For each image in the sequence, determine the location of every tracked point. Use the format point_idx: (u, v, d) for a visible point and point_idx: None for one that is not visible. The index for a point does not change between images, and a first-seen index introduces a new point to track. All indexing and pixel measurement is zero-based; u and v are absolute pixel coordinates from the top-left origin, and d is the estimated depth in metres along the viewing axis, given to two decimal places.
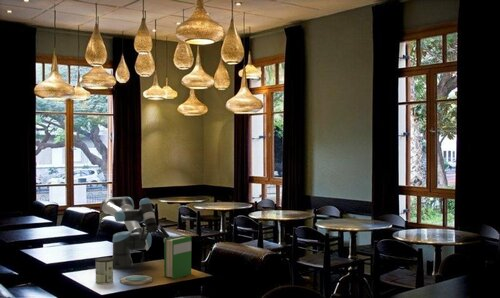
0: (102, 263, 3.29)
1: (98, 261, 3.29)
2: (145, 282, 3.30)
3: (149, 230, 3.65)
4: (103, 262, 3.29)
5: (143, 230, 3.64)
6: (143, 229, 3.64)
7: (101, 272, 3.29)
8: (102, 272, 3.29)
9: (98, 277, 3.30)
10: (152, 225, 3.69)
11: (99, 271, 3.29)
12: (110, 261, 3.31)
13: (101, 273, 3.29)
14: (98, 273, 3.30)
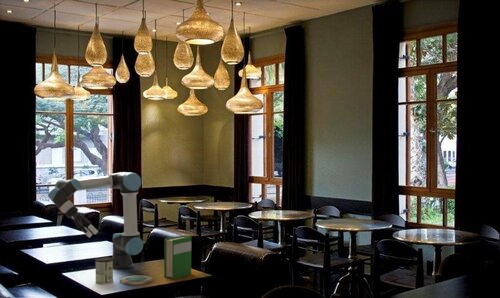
0: (102, 263, 3.29)
1: (98, 261, 3.29)
2: (145, 282, 3.30)
3: None
4: (103, 262, 3.29)
5: None
6: None
7: (101, 272, 3.29)
8: (102, 272, 3.29)
9: (98, 277, 3.30)
10: None
11: (99, 271, 3.29)
12: (110, 261, 3.31)
13: (101, 273, 3.29)
14: (98, 273, 3.30)
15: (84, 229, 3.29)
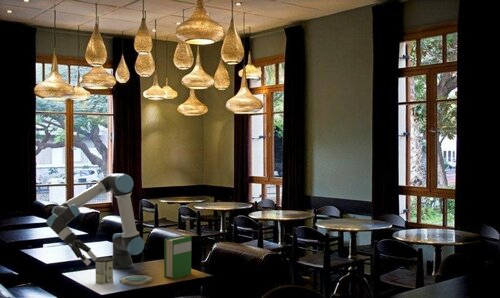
0: (102, 263, 3.29)
1: (98, 261, 3.29)
2: (145, 282, 3.30)
3: None
4: (103, 262, 3.29)
5: None
6: None
7: (101, 272, 3.29)
8: (102, 272, 3.29)
9: (98, 277, 3.30)
10: None
11: (99, 271, 3.29)
12: (110, 261, 3.31)
13: (101, 273, 3.29)
14: (98, 273, 3.30)
15: (82, 257, 3.25)
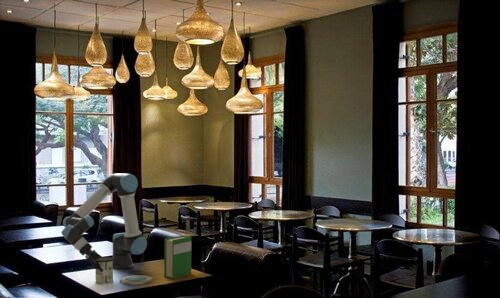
0: (102, 263, 3.29)
1: (98, 261, 3.29)
2: (145, 282, 3.30)
3: None
4: (103, 262, 3.29)
5: None
6: None
7: None
8: None
9: (98, 277, 3.30)
10: None
11: (99, 271, 3.29)
12: (110, 261, 3.31)
13: (101, 273, 3.29)
14: (98, 273, 3.30)
15: (100, 268, 3.27)
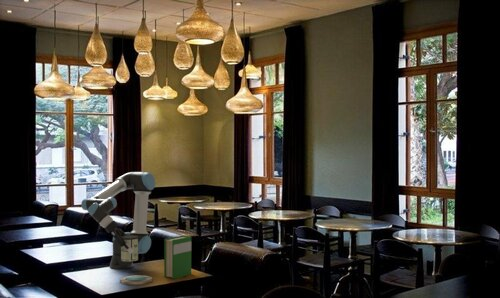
0: (127, 240, 3.30)
1: (124, 238, 3.31)
2: (145, 282, 3.30)
3: None
4: (129, 239, 3.30)
5: None
6: None
7: None
8: None
9: (124, 254, 3.31)
10: None
11: None
12: (135, 239, 3.33)
13: None
14: (124, 250, 3.31)
15: (126, 245, 3.29)
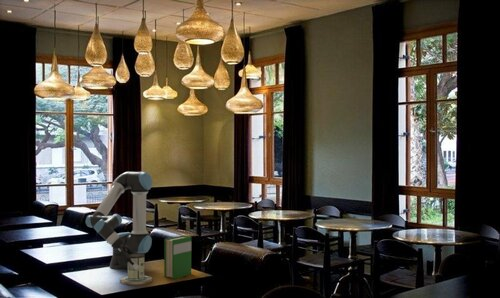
0: (134, 259, 3.32)
1: (130, 257, 3.32)
2: (145, 282, 3.30)
3: None
4: (135, 258, 3.32)
5: None
6: None
7: (133, 268, 3.32)
8: None
9: (130, 273, 3.32)
10: None
11: (131, 267, 3.32)
12: (142, 257, 3.34)
13: (134, 269, 3.32)
14: (130, 269, 3.32)
15: (131, 261, 3.28)
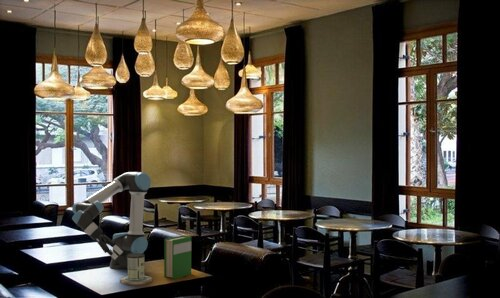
0: (134, 259, 3.32)
1: (130, 257, 3.32)
2: (145, 282, 3.30)
3: None
4: (135, 258, 3.32)
5: None
6: None
7: (133, 268, 3.32)
8: (134, 268, 3.32)
9: (130, 273, 3.32)
10: None
11: (131, 267, 3.32)
12: (142, 257, 3.34)
13: (134, 269, 3.32)
14: (130, 269, 3.32)
15: (109, 251, 3.31)
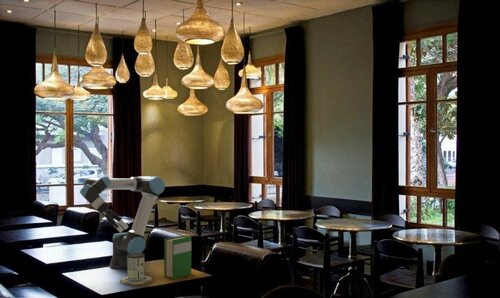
0: (134, 259, 3.32)
1: (130, 257, 3.32)
2: (145, 282, 3.30)
3: None
4: (135, 258, 3.32)
5: None
6: None
7: (133, 268, 3.32)
8: (134, 268, 3.32)
9: (130, 273, 3.32)
10: None
11: (131, 267, 3.32)
12: (142, 257, 3.34)
13: (134, 269, 3.32)
14: (130, 269, 3.32)
15: (115, 224, 3.39)
